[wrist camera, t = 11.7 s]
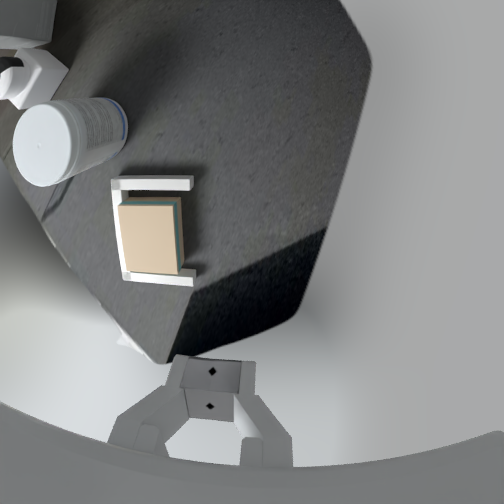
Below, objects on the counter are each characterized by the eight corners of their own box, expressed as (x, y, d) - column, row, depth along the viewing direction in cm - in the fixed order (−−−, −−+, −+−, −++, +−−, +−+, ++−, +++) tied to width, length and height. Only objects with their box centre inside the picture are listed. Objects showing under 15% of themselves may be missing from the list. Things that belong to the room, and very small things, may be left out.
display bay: (118, 175, 41) (110, 179, 39) (193, 175, 41) (189, 179, 39) (129, 272, 48) (123, 280, 46) (196, 277, 48) (193, 286, 46)
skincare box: (31, 10, 28) (-32, -3, 14) (62, -2, 28) (-1, -22, 14) (24, 53, 32) (-43, 51, 17) (55, 43, 32) (-15, 34, 17)
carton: (129, 196, 43) (117, 205, 39) (181, 196, 43) (172, 205, 39) (136, 257, 47) (126, 271, 43) (185, 260, 47) (178, 274, 43)
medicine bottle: (25, 85, 34) (-26, 89, 24) (46, 49, 32) (-4, 44, 21) (47, 107, 36) (-5, 114, 26) (70, 69, 34) (19, 66, 23)
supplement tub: (90, 89, 36) (24, 89, 22) (141, 111, 37) (85, 115, 24) (68, 147, 39) (4, 169, 26) (115, 172, 41) (58, 202, 28)
